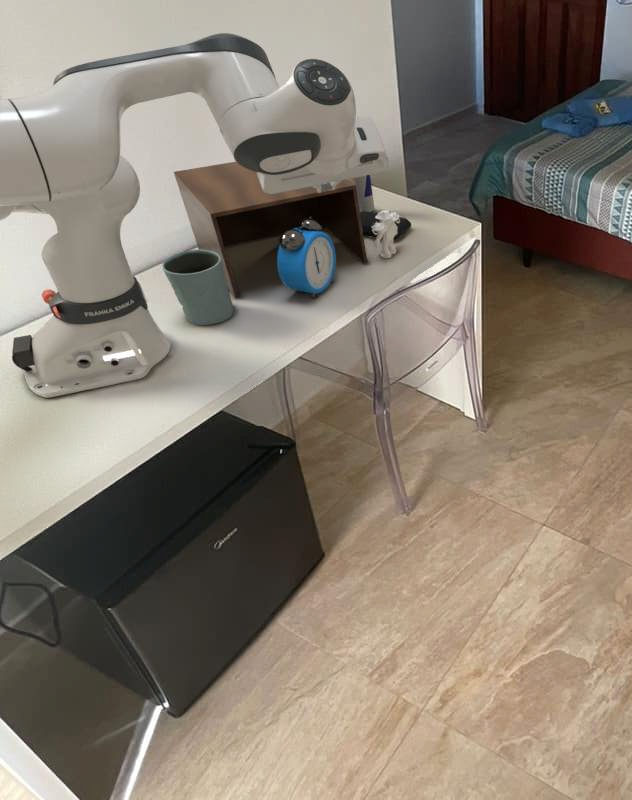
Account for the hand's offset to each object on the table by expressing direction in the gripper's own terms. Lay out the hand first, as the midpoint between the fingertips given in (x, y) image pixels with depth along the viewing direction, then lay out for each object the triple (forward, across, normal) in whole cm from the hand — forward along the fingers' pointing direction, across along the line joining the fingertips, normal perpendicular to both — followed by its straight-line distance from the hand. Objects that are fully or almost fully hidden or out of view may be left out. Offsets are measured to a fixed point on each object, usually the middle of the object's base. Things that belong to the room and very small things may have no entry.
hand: (325, 187), depth 117 cm
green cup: (+35, -25, -4) cm, 44 cm away
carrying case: (+53, +17, +11) cm, 56 cm away
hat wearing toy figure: (+44, +16, +2) cm, 47 cm away
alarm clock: (+38, -4, -4) cm, 38 cm away
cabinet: (+48, -7, +9) cm, 49 cm away
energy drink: (+61, +17, +20) cm, 66 cm away
